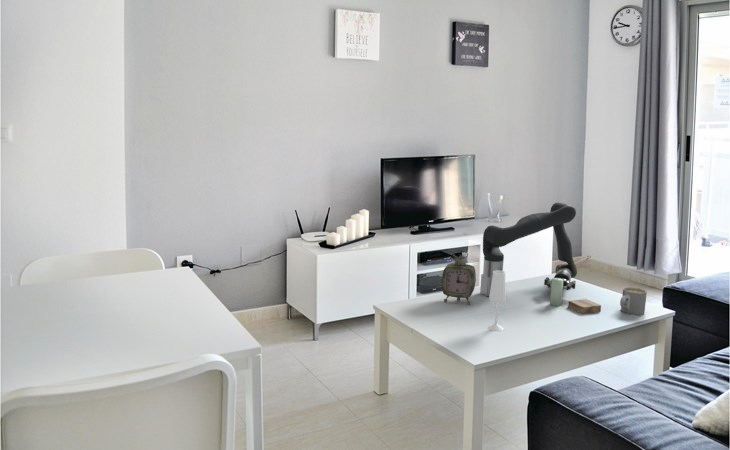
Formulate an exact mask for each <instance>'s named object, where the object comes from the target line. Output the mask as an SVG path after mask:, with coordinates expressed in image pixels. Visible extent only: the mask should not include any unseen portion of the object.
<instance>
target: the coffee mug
mask: <svg viewBox="0 0 730 450" xmlns="http://www.w3.org/2000/svg"><path fill="white" fill-rule="evenodd" d="M647 293H648V292H647V290H646V289H644V288H641V287H635V286H627V287H623V288H622V296H621V297H620V299H619V300H620V301H619V303H620V304H619V305H620V311H621V312H622V313H625V314H628V315H634V316H641V315H644V314H645V311H646V303H647Z"/></svg>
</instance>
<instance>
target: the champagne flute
mask: <svg viewBox="0 0 730 450" xmlns="http://www.w3.org/2000/svg"><path fill="white" fill-rule="evenodd" d="M506 285H507V284H506V271H504V270H503V271H500V270H496V271H493V277H492V283H491V289H490V295H489V296H488V298H489V300H490V302H491V304H493V305H494V306H495V308H494V321H493V323H492V324H490V325H488V326H487V327H486V328H487V329H488V330H489V331H492V332H502V331H504V327H502V326H501V325H500V324H498V318H499V317H498V316H499V306H501V305H502V304H503V303H504V302H505V301H506V300H507V294H506V293H507V291H506V290H507V289H506Z"/></svg>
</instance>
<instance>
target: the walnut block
mask: <svg viewBox="0 0 730 450" xmlns="http://www.w3.org/2000/svg"><path fill="white" fill-rule="evenodd" d="M567 304H568V305H567V307H568V308H569V309H571V310H573V311H575V312H578V313H579V314H582V315H583V314H584V315H585V314H591V313H601V310H602V304H599V303H596V302H594V301H592V300H589V299H587V298H581V299H572V300H568V303H567Z"/></svg>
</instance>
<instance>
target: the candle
mask: <svg viewBox="0 0 730 450" xmlns="http://www.w3.org/2000/svg"><path fill="white" fill-rule="evenodd" d="M551 279H552V286H550V288H551V289H550V300H549V304H550V306H553V307H560V306H562V301H563V300H562V298H563V290H564V288H563V279H560V278H554V277H553V278H551Z"/></svg>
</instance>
